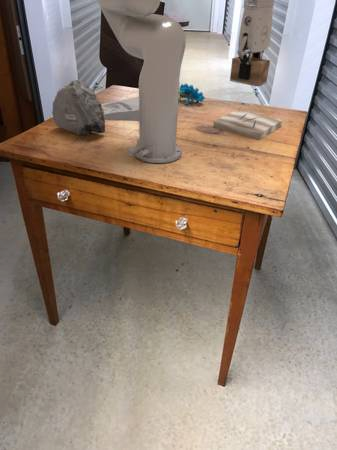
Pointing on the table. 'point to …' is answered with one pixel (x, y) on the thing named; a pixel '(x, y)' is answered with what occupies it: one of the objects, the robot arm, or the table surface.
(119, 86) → the table surface
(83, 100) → the decorative rock
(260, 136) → the board
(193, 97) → the gear
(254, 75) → the block
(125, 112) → the ramp
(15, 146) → the table surface
